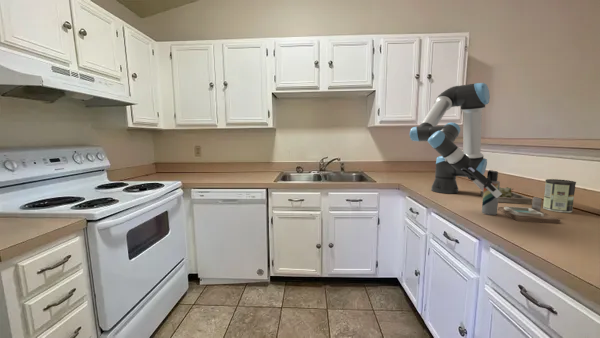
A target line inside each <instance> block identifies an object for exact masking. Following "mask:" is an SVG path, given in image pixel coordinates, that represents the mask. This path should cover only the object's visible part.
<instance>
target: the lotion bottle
mask: <svg viewBox="0 0 600 338" xmlns="http://www.w3.org/2000/svg"><path fill="white" fill-rule="evenodd" d="M486 178H487V179H489V180H490V181H491V182H492V184H493V185H494V186H495V187H496V188H497V189H498V190H499V188H500V181H499V180H498V178H499V172H498V170H497V171H496V170H493V169H492V170H491V169H489V170H488V171H487V176H486ZM481 206H482V207H481V213H482V214H484V215H488V216H496V215H498V207H499V202H498V198H496V197H495V196H494V195H493V194H492V193H491V192H490V191H489V190H488V189H487V188H484V191H483V196H482V205H481Z"/></svg>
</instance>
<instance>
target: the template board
mask: <svg viewBox="0 0 600 338" xmlns="http://www.w3.org/2000/svg"><path fill="white" fill-rule="evenodd" d="M542 200H543V199H542V198H541V197H532V202H531V207H524V206H522V207H519V206H503V207H502V206H498V208H497V211H498V212H500V213H502V214H504V215H505V216H508V217H509V218H511V219H513V220H515V221H518V222H519V221H520V222H532V223H533V222H535V223H538V222H539V223H546V224H547V223H551V224H561V219H559V218H558V217H555V216H552V215H550V214H548V213H545V212H543V211H541V209H542Z"/></svg>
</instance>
